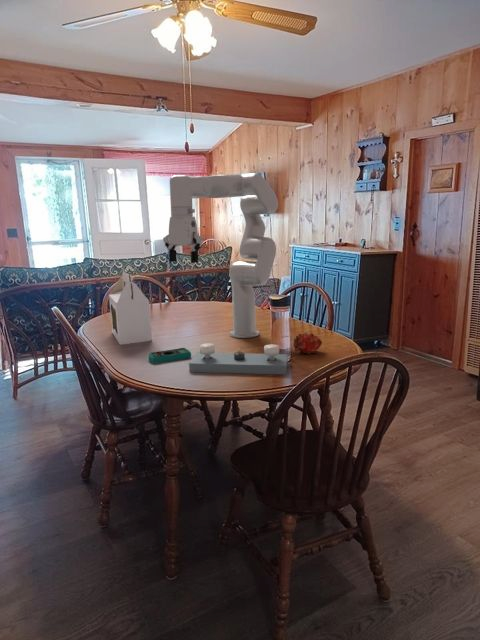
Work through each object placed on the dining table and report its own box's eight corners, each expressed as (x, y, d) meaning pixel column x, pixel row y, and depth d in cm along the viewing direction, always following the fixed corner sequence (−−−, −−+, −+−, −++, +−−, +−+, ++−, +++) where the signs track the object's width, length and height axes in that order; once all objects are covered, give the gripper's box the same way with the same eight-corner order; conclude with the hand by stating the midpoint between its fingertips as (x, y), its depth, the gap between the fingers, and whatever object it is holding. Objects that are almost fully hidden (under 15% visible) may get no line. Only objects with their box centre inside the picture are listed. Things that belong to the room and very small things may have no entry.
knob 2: (265, 359, 155) (264, 344, 154) (279, 360, 154) (279, 344, 153) (263, 364, 150) (263, 348, 149) (278, 364, 149) (278, 348, 148)
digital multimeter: (147, 359, 166) (146, 352, 166) (186, 353, 172) (185, 346, 171) (151, 365, 160) (151, 357, 159) (192, 359, 165) (191, 351, 165)
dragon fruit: (290, 358, 167) (318, 359, 171) (300, 350, 160) (330, 351, 164) (286, 337, 170) (314, 338, 175) (296, 328, 163) (325, 329, 167)
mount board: (197, 360, 162) (197, 352, 162) (287, 362, 158) (287, 354, 157) (189, 371, 151) (189, 363, 150) (285, 374, 146) (285, 365, 145)
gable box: (152, 341, 189) (147, 274, 183) (120, 345, 184) (113, 277, 178) (141, 329, 209) (136, 268, 203) (112, 333, 204) (106, 271, 198)
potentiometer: (234, 356, 156) (234, 347, 155) (245, 357, 155) (245, 347, 154) (233, 360, 152) (233, 350, 151) (243, 360, 152) (243, 350, 151)
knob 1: (202, 358, 158) (201, 343, 157) (216, 358, 157) (215, 343, 156) (198, 362, 153) (198, 347, 152) (213, 363, 153) (212, 347, 151)
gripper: (208, 212, 156) (209, 262, 160) (169, 213, 165) (171, 260, 169) (195, 212, 150) (197, 263, 154) (155, 213, 159) (158, 262, 163)
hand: (183, 262), depth 161 cm, fingers open, 9 cm apart
